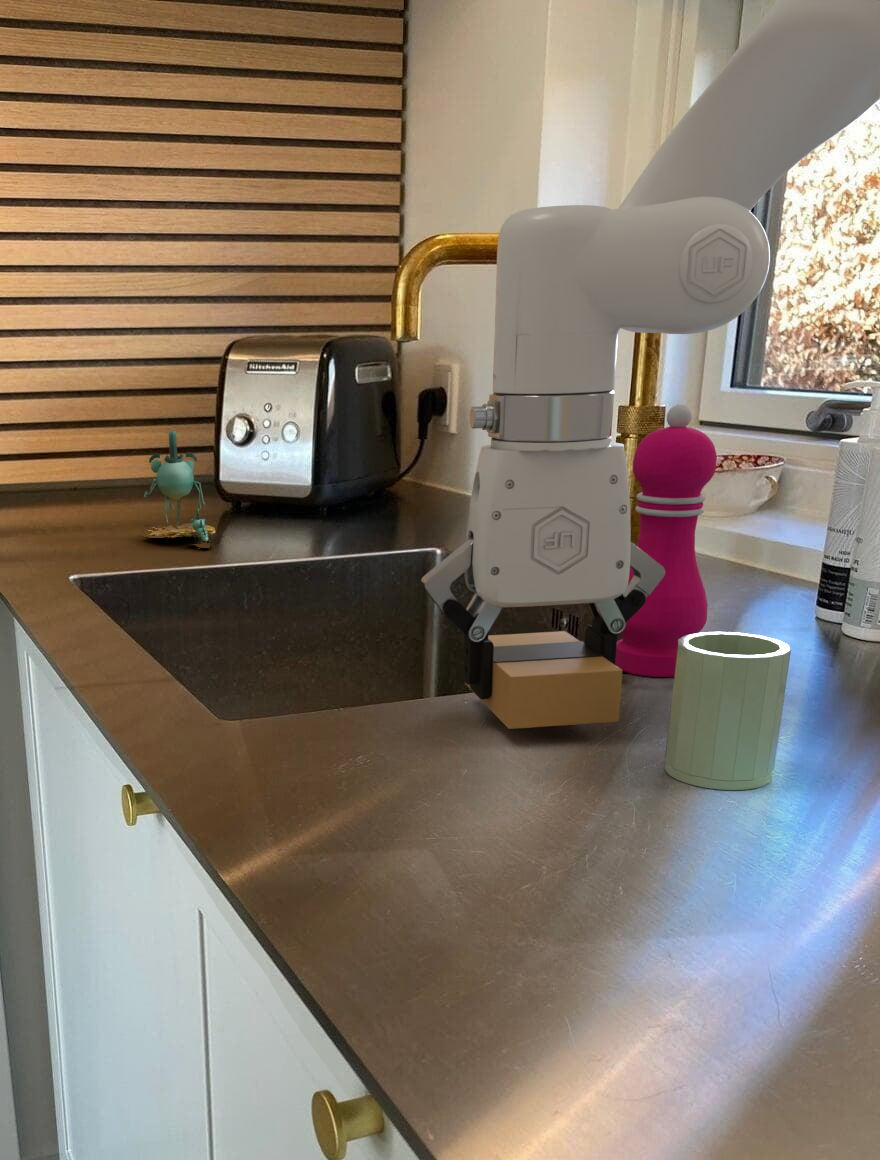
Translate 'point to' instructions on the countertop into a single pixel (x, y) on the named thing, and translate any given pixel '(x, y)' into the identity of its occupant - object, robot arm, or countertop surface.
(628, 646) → the pepper mill
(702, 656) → the cup
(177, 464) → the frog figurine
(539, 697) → the packet
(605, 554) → the robot arm
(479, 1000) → the countertop surface
